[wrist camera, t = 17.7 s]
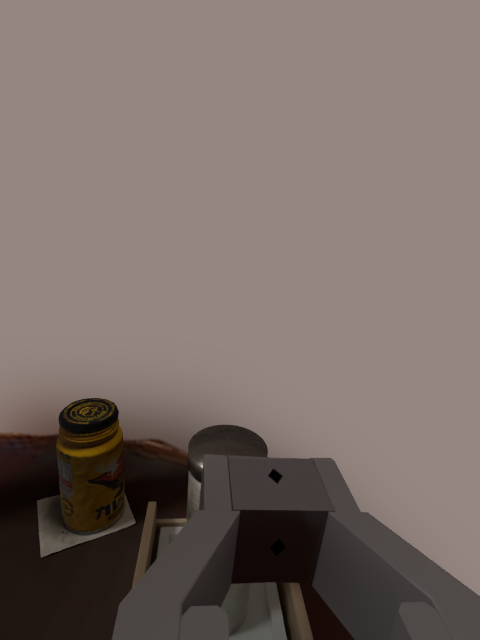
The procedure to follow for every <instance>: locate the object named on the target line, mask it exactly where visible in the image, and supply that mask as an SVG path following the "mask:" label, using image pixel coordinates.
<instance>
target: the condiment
mask: <svg viewBox="0 0 480 640" xmlns="http://www.w3.org/2000/svg"><path fill="white" fill-rule="evenodd" d="M118 413H119V411H118V409H117V407H116V405H115V404H114V403H112V402H111V401H109V400H106V399H100V398H91V399H90V398H89V399H82V400H78V401H75V402H73V403H71V404H69V405H68V406H67V407H65V408H64V409H63V410H62V412H61V413H60V415H59V424H60V428H59V434H60V435H59V437H58V439H57V443H56V450H57V461H58V471H59V485H60V495H57V496H53V497H47V498H45V499H41V500H38V501H37V509H38V522H39V537H40V551H41V557H44V556H47V555H49V554H51V553H54V552H58V551H61V550H62V549H65V548H68V547H71V546H74V545H76V544H79V543H83V542H85V541H89V540H92V539H96V538H98V537H101V536H104V535H106V534H109V533H112V532H115V531H118V530H120V529H123V528H126V527H129V526H131V525H133V524H135V523H136V522H135V519H134V516H133V514H132V511H131V509H130V506H129V503H128V501H127V498H126V495H125V492H124V483H125V481H124V461H123V434H122V430H121V428H120V427H119V420H118ZM62 531H64V532H65V533H62ZM66 532H69V533H68V534H67V533H66Z"/></svg>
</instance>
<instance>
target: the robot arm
mask: <svg viewBox="0 0 480 640" xmlns="http://www.w3.org/2000/svg"><path fill="white" fill-rule="evenodd" d="M267 582H279V583H312V586H313V587H314V589H315V590H316V591H317V592H318V594H319V595H320V596H321V598H322V599H323V600H324V601H325V603H326V604H327V605H328V606H329V608H330V609H331V610H332V612H333V613H334V614H335V615H336V617H337V618H338V619H339V620H340V622H341V623H342V624H343V625H344V627H345V628H346V629H347V631H348V632H349V633H350V634H351V636H352V637H353V638H354V639H355V640H480V596H478V595H477V594H476V593H475V592H473V591H472V590H471V589H469V588H468V587H467V586H465V585H464V584H462V583H461V582H460V581H458V580H457V579H456V578H454V577H453V576H452V575H450V574H449V573H448V572H446V571H445V570H444V569H442V568H441V567H440V566H438V565H437V564H436V563H434V562H433V561H432V560H430V559H429V558H428V557H426V556H425V555H424V554H422V553H421V552H420V551H418V550H417V549H416V548H414V547H413V546H412V545H410V544H409V543H407V542H406V541H405V540H403V539H402V538H401V537H400V536H398V535H397V534H395V533H394V532H393V531H392V530H390V529H389V528H388V527H386V526H385V525H383V524H382V523H381V522H380V521H378V520H377V519H375V518H374V517H373V516H372V515H370V514H369V513H367V512H360V510H359V508H358V506H357V504H356V502H355V500H354V498H353V496H352V494H351V492H350V490H349V488H348V486H347V484H346V483H345V480H344V479H343V477H342V475H341V473H340V471H339V469H338V467H337V465H336V463H335V461H334V460H332V459H331V458H310V459H297V458H269V457H252V456H233V455H227V456H226V455H207V454H205V455H204V459H203V469H202V480H201V490H200V502H199V510H197V511H196V512H195V513H194V515H193V516H192V517H191V518H190V519H189V521H188V522H187V523H186V524H185V526H184V527H183V528H182V529H181V530H180V532H179V533H178V534H177V535H176V536H175V538H174V539H173V540H172V541H171V542H170V544H169V545H168V546H167V547H166V549H165V550H164V551H163V552H162V553H161V555H160V556H159V557H158V558H157V559H156V561H155V562H154V563H153V564H152V566H151V567H150V568H149V569H148V570H147V572H146V573H145V574H144V575H143V576H142V578H141V579H140V580H139V581H138V582H137V584H136V585H135V586H134V587H133V589H132V590H131V591H130V592H129V593H128V595H127V596H126V597H125V598H124V599H123V601H122V602H121V603H120V604H119V609H118V614H117V618H116V623H115V627H114V632H113V637H112V640H229V632H228V617H227V613H226V612H224V611H223V610H222V609H221V606H222V604H223V601H224V599H225V597H226V595H227V593H228V591H229V589H230V587H231V584H243V583H267Z"/></svg>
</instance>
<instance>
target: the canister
mask: <svg viewBox="0 0 480 640" xmlns="http://www.w3.org/2000/svg"><path fill="white" fill-rule="evenodd" d="M267 453H268V450H267V446H266V444H265V442H264V440H263V439H262V438H261V437H260V436H259V435H257V434H256V433H254V432H253V431H251V430H248V429H246V428H243V427H239V426H234V425H217V426H212V427H208V428H205V429H203V430H201V431H199V432H197V433H196V434H195V435H194V436H193V437H192V439H191V440H190V442H189V446H188V469H189V479H188V500H187V522H188V521H189V519H190V518H191V517H192V516H193V515H194V513H195V512H196V511H197V510H199V502H200V490H201V480H202V469H203V459H204V455H205V454H207V455H226V456H227V455H233V456H252V457H267ZM187 522H186V523H187ZM250 586H251V583H243V584H231V587H230V589H229V591H228V593H227V595H226V597H225V599H224V601H223V604H222V606H221V609H222V610H223V611H224V612H226V613H227V617H228V632H229V636H231V635H233V634H234V633H235V632H237V631H238V630H239V628H240V627H241V626H242V625H243V623H244V621H245V618H246V616H247V611H248V603H249V594H250Z"/></svg>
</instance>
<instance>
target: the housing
mask: <svg viewBox="0 0 480 640" xmlns="http://www.w3.org/2000/svg"><path fill="white" fill-rule="evenodd" d="M186 522H187V519H156V502H149V503H148V508H147V513H146V518H145V523H144V528H143V534H142V539H141V544H140V549H139V554H138V560H137V565H136V570H135V575H134V580H133V585H132V589H133V587H134V586H135V585H136V584H137V582H138V581H139V580H140V579H141V578H142V576H143V575H144V574H145V573H146V572H147V570H148V569H149V568H150V567H151V566H152V564H153V563H154V562H155V561H156V559H157V552H158V545H159V538H160V530H161V527H183V526H185V524H186ZM276 585H277V590H278V595H279V600H280V606H281V611H282V616H283V621H284V627H285V632H286V637H287V640H313V636H312V632H311V628H310V624H309V620H308V616H307V612H306V608H305V604H304V600H303V596H302V592H301V588H300V584H299V583H279V582H276Z"/></svg>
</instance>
